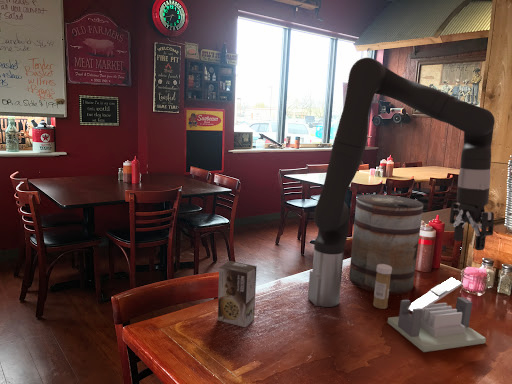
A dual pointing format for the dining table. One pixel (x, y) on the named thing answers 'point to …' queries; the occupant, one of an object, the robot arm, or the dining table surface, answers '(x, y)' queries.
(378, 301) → the sprinkles bottle
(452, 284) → the clamp bar
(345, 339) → the dining table surface
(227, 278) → the coffee box
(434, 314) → the board
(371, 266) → the barrel
